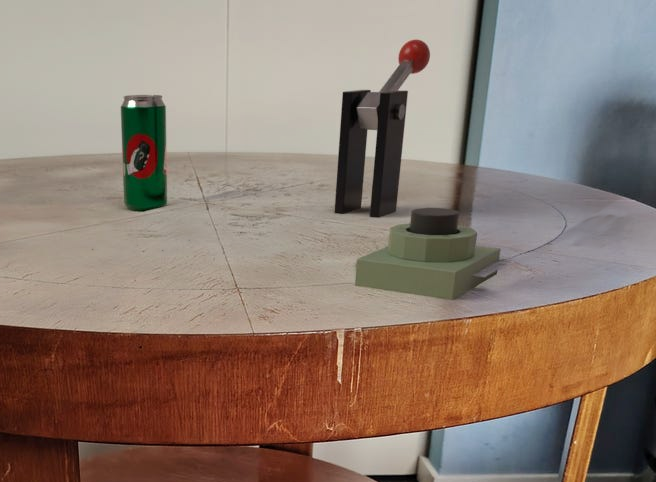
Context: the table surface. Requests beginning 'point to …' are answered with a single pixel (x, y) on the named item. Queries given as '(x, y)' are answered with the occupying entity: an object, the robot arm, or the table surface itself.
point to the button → (434, 221)
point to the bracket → (385, 154)
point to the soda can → (144, 152)
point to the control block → (427, 263)
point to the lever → (393, 81)
